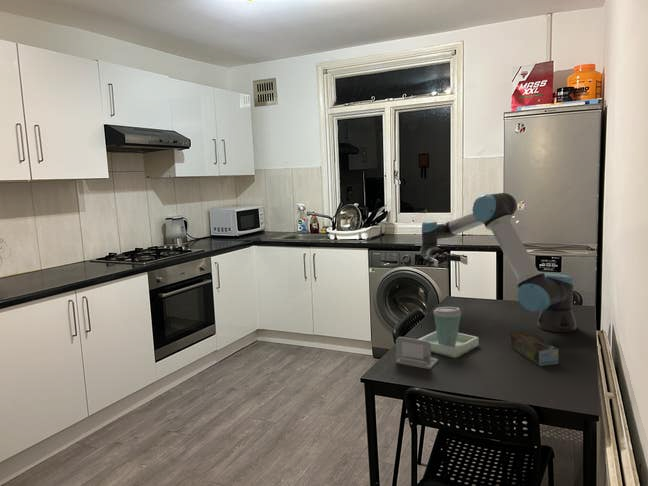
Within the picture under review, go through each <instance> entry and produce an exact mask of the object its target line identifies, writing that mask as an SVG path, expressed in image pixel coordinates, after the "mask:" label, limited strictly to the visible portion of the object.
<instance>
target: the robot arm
mask: <svg viewBox="0 0 648 486" xmlns="http://www.w3.org/2000/svg"><path fill="white" fill-rule="evenodd" d="M517 206H518V205H517V200H516V199H515V197H514V196H513V195H511V194H509V193H507V192H499V193H491V194H490V193H486V194H483V195H480V196H478V197H477V198H476V199H475V200H474V202H473V205H472V209H471V210H472V211H470V212H467V213H466V214H464V215H461V216H459V217H456V218H454V219H451V220H450V221H447V222H445V223H440V224H438V222H437V221H424V222H422V223H421V243H422V244H421V247H420V250H419V253H420V256H421V257H422V258H423V260H424V261H423V263H424V265H428V266H429V267H430V266H434V267H439V265H441V264H443V263H444V262H446V263H447V262H460V263H462V264H464V265H466V266H468V264H469V262H468V255H465V254H455V253H446V251H444V250H443V249H441V248H439V247H438V240H442V239H448V238H449V239H450V238H453V237H456V236H457V235H458V234H461V233H464V232H466V231H469V230H471V229H474V228H476V227H479V226H482V225H484V228H486V230H489V231H491V232H492V234H493V237H494V238H495V239H496V241H497V243H498V246H499V247H500V249H501V251H502V253H503V254H504V257H505V258H506V260H507V263H509V266H510V267H511V269H512V271H513V272H514V275H515V276H516V278H517V282H516V286H517V288H518V290H517V294H516V295H517V297H516V298H517V300H518V302H519V304H520V305H521V306H522V307H523V308H524V309H525V310H527V311H530V312H539V311H540V313H539V316H538V318H537V327H538V328H540V329H541V330H545V331H546V332H547V331H548V332H552V333H553V332H554V333H571V332H574V331H576V330H577V321H576V319H575V315H574V312H573V302H574V301H573V297H574V280H573V277H572V276H571V275H568V274H567V275H566V274H562V273H561V274H560V273H559V274H558V273H545V272H544V271H539V270H538V267H536V264H535V263H534V261H533V260H532V257H531V255H530V254H529V253H528V250H527V248H526V247H525V245H524V244H523V242H522V239H521V238H520V236H519V235H518V233H517V231H516V229H515V227H514V225H513V224H512V222H511V220H512V217H513V215H514V214H515V213H516V211H517V209H518V207H517Z"/></svg>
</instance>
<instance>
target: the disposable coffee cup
mask: <svg viewBox="0 0 648 486" xmlns="http://www.w3.org/2000/svg"><path fill="white" fill-rule="evenodd" d="M433 316H434V323H435V331H437V339H438V343H439V344H441V345H445V346H449V347H454V346H455V344H456V340H457V334H458V333H459V328H460V322H461V321H460V320H461V316H462V311H461V308H459V307H455V306H441V307H436V308H435V309H433Z"/></svg>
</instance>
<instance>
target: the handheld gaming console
mask: <svg viewBox="0 0 648 486" xmlns="http://www.w3.org/2000/svg"><path fill="white" fill-rule="evenodd" d="M418 339H419V338H411V337H406V336H405V337H404V336H398V337H397V338H396V339H395V358H396V360H395V364H399V365H405V366H410V367H416V368H421V369H426V370H431V369H432V368H433V367H434V366H435V365H436V364H437V363H438V361H439V359H438V358H437V357H432V352H431V344H430V342H428V341H425V340H418Z"/></svg>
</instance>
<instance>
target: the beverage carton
mask: <svg viewBox="0 0 648 486" xmlns="http://www.w3.org/2000/svg"><path fill="white" fill-rule="evenodd" d="M510 338H511V342H510V343H511V348H512V350H513V349H514V350H515V351H517V352H518V353H519V354H521V355H522V356H524V357H525V358H526V359H528V360H530V361H531V362H532V363H535V364H536V365H538V366H541V367H542V366H549V365H550V366H551V365H552V366H553V365H558V364H559V360H560V359H559V357H560V356H559V352H560V351H559V348H558V347H556V346H554V345H553V344H551V343H550V342H549V341H546V340H545V339H543V338H542V337H540V336H538V335H536V334H535V333H533V332H531V331H529V330H528V331H521V332H515V333H514V332H513V333H511V336H510Z"/></svg>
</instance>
